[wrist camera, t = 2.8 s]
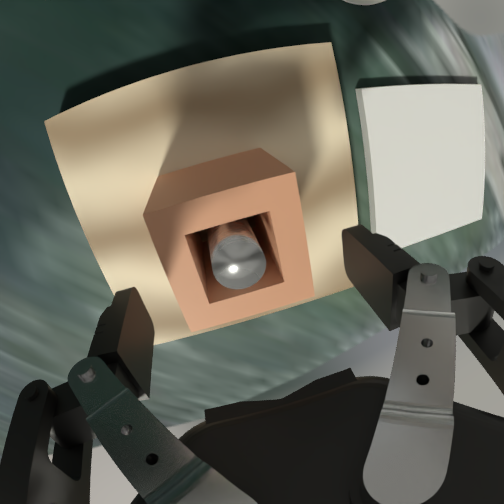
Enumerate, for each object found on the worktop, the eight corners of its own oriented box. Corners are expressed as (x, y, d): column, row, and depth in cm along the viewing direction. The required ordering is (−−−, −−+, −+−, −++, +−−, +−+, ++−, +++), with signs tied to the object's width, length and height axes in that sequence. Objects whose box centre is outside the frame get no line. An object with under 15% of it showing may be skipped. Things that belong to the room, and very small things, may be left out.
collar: (157, 176, 16) (142, 214, 11) (260, 147, 16) (295, 171, 11) (188, 265, 19) (191, 332, 14) (279, 239, 19) (314, 296, 14)
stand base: (57, 118, 15) (44, 121, 13) (317, 46, 16) (331, 42, 14) (145, 329, 23) (143, 347, 21) (349, 269, 24) (361, 283, 22)
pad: (355, 88, 18) (361, 88, 17) (474, 83, 18) (481, 84, 18) (371, 251, 23) (376, 256, 23) (476, 215, 24) (481, 218, 23)
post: (199, 197, 17) (205, 250, 11) (235, 187, 17) (259, 235, 11) (209, 230, 18) (220, 295, 12) (243, 220, 18) (270, 280, 12)
